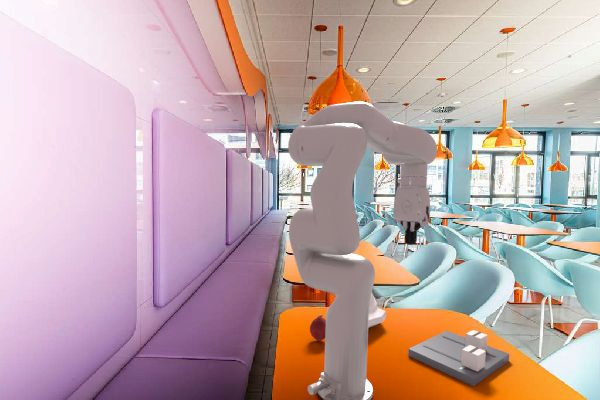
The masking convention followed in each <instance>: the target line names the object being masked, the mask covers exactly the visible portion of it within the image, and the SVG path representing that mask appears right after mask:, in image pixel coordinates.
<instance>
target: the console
mask: <svg viewBox="0 0 600 400" xmlns="http://www.w3.org/2000/svg"><path fill="white" fill-rule="evenodd" d="M465 344H466V336H463V335H460V334H457V333H455V332H452V331H449V330H445V331H443V332H441V333H439V334H436V335H434V336H432V337H431V338H428V339H426V340H424V341H422V342H420V343H418V344H416V345H413V346H411V347H409V348H408V357H410V358H412V359H415V360H416V361H419V362H421V363H422V364H423V363H424V364H425V365H428V366H429V367H431V368H434V369H435V370H438V371H441V372H442V373H444V374H447V375H449V376H450V377H453V378H455V379H457V380H458V381H462V382H463V383H466V384H467V385H470V386H472V387H475V386H476V385H478V384H480V382H482V381H484V380H485V379H487V378H488V377H489V376H490V375H492V374H493V373H494V372H495V371H497V370H498V369H500V368H502V367H503V366H504V365H505V364H507V363H509V362H510V353H509V352H506V351H504V350H500V349H497V348H495V347H492V346H490V345H487V349H486V350H484V351H486V357H485V367H483V368H482V369H481V370H479V371H478V372H477V371H475V370H472V369H470V368H468V367H465V366H463V365H461V361H462V349H464V348H465Z"/></svg>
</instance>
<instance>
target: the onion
mask: <svg viewBox="0 0 600 400" xmlns="http://www.w3.org/2000/svg"><path fill="white" fill-rule="evenodd" d="M325 331H326V318H324V317H323V314H321V313H320V314H318V316H317V317H316V318H314V319H313V320H312V321H311V323H310V327H309V332H310V335H311V337H312V338H313V339H315V340H316V341H317V342H322V341H323V340H324V339H325Z"/></svg>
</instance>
